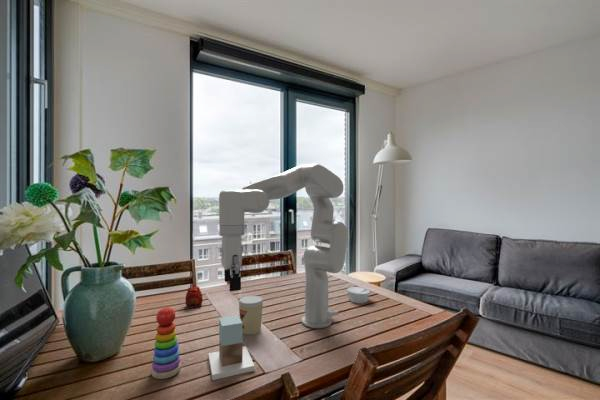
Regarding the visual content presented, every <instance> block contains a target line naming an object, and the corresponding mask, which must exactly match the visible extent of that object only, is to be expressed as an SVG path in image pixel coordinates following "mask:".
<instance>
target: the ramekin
mask: <svg viewBox="0 0 600 400" xmlns="http://www.w3.org/2000/svg"><path fill="white" fill-rule="evenodd" d="M346 291H347V298H348V300H349V302H351V303H354V302H355V303H354V304H366V303H368V301H369V298H370V293H371V292H370V290H369V289H368V288H366V287H363V286H362V287H361V286H350V287H347V290H346ZM365 302H366V303H365Z"/></svg>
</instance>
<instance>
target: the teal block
mask: <svg viewBox="0 0 600 400" xmlns="http://www.w3.org/2000/svg"><path fill="white" fill-rule="evenodd" d="M218 321H219V323H218V326H219V328H218V329H219V330H218V338H220V342H221V345H222V346H227V345H232V344H237V343H242V342H243V333H242V321H241V319H240V314H239V315H238V314H237V315H231V316H224V317H219V320H218Z"/></svg>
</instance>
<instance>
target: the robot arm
mask: <svg viewBox="0 0 600 400" xmlns="http://www.w3.org/2000/svg"><path fill="white" fill-rule="evenodd" d="M304 188H305V192H306V195H308V198H310V200H311V202H312V204H313V206H312V207H313V212H312V213H313V214H312V220H311V228H310V238H311V239H312V241H314V242H316V243H319V244H320V243H321V244H328V245H329V247H327V246H323V245H310V246H308V247H306V249H305V250H304V252H303V256H302V257H303V259H302V260H303V265H304V266H303V267H304V271H305V287H304V288H305V292H304V293H305V294H304V295H305V297H304V301H305V302H304V306H305V307H304V315H303V316H301V320H300V321H301V324H302V325H303V326H306V327H308V328H311V329H324V328H328V327H330V326H331V325H332V322H333V320H332V317H336V316H339V311H338V310H334V311H333V309H329V281H330V280H329V276H328V273H332V274H337V273H340V272H341V271H342V270H343V268H344V266H345V261H346V253H347V246H348V238H349V231H348V228H347V226H346V225H345V223H344V222H342V221H338V220H334V213H335V212H334V211H335V210H334V208H335V207H334V206H333V203H332V201H331V199H335V198H336V199H337V198H339V197H341V195H342V194H343V192H344V183H343V181H342V179H341V178H340V177H339V176H338V175H336V174H335V172H332V171H331V170H330V169H329V168H326V167H325V166H323V165H321V164H319V163H311V164H300V165H298V166H295V167H293V168H291V169H288V170H286V171H283V172H282V173H278V174H277V175H274V176H271V177H268V178H264V179H262V180H259V181H256V182H254V183H251V184H247V185H246V186H243V187H241V188H239V189H235V190H233V189H230V190H227V189H226V190H221V191H220V192H219V195H218V211H219V212H218V214H219V215H218V222H219V223H218V224H219V226H218V229H219V237H221V255H220V256H221V258H220V260H221V261H220V262H221V265H222V267H223V269H224V282H225V283H228V282H229V291H230V292H236V291H241V290H242V275H241V274H242V273H241V268H242V267H243V251H242V250H243V246H242V244H243V242H242V236H245V213H251V214H259V213H262V212H264V211H266V210H267V209H268V207H269V206H270V201H271V200H279V199H283V198H287V197H290V196H291V195H293V194H294V193H297V192H298V191H300V190H302V189H304Z"/></svg>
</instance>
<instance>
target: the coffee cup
mask: <svg viewBox="0 0 600 400" xmlns="http://www.w3.org/2000/svg"><path fill="white" fill-rule="evenodd" d="M263 303H264V300H263V297H261V296H259V295H252V294H251V295H244V296H243V297H240V298H239V300H238V308H239V309H238V311H239V317H240V319H241V321H242V335H247V336H248V335H249V336H251V335H257V334H258V333H259V332H261V329H262V319H263V318H262V317H263V315H262V314H263V305H264V304H263Z"/></svg>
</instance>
